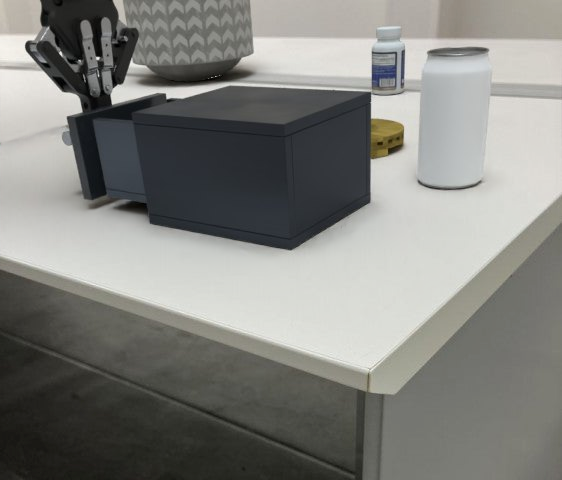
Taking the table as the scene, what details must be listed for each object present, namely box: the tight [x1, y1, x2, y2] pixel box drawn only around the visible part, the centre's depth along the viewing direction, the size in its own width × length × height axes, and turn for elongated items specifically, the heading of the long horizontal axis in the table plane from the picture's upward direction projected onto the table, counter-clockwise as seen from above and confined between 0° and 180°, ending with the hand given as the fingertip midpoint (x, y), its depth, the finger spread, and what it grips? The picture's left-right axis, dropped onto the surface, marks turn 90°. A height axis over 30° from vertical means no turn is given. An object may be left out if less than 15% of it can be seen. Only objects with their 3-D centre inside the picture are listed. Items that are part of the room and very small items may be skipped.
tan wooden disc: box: [371, 117, 405, 159], centre depth 83 cm, size 12×12×2 cm
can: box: [416, 46, 493, 190], centre depth 66 cm, size 6×6×12 cm
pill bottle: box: [371, 25, 406, 96], centre depth 111 cm, size 5×5×10 cm
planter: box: [122, 0, 255, 82], centre depth 137 cm, size 25×25×24 cm
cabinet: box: [131, 85, 372, 251], centre depth 62 cm, size 16×14×10 cm
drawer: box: [61, 92, 183, 204], centre depth 68 cm, size 20×13×8 cm, turn 56°
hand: (101, 133), depth 71 cm, fingers closed
